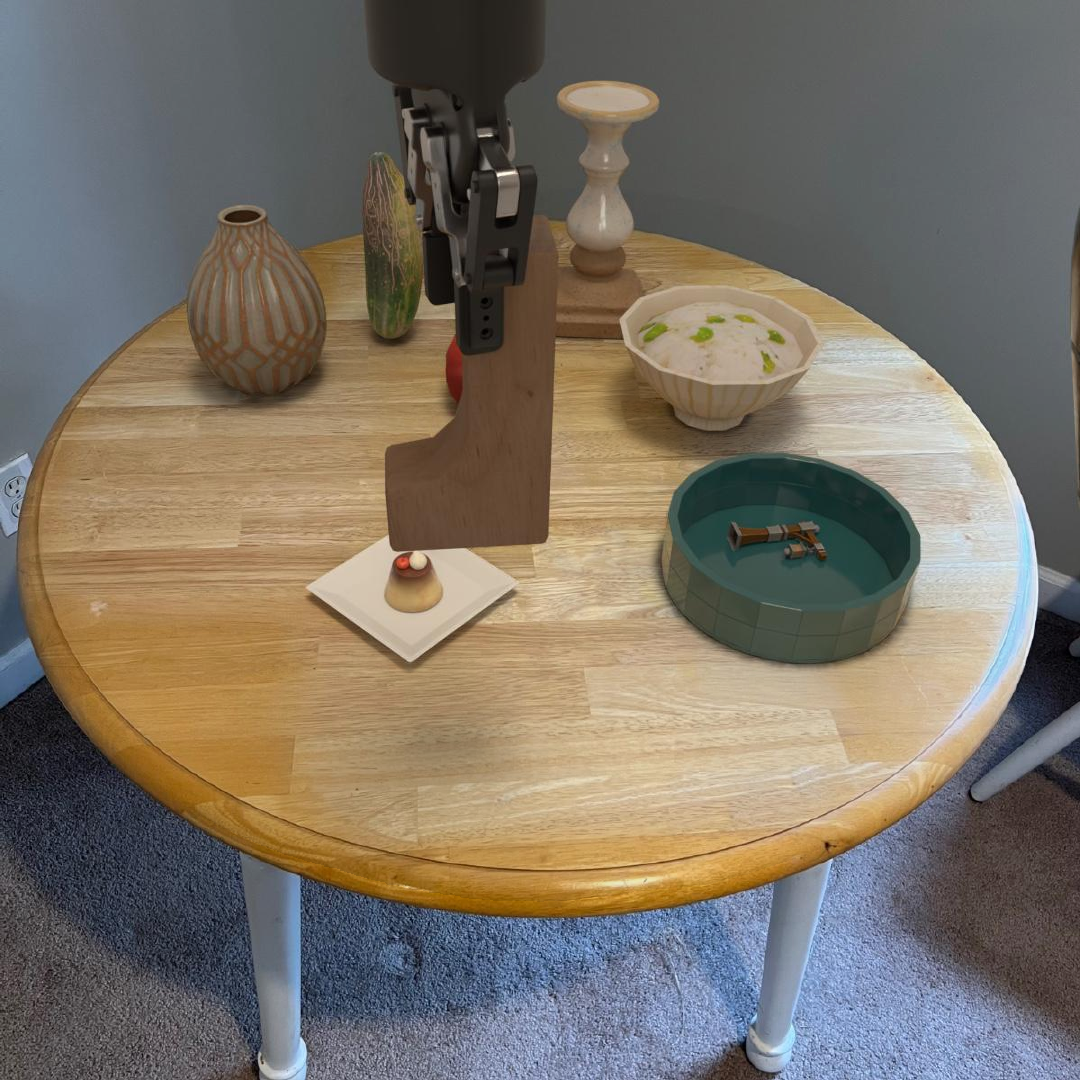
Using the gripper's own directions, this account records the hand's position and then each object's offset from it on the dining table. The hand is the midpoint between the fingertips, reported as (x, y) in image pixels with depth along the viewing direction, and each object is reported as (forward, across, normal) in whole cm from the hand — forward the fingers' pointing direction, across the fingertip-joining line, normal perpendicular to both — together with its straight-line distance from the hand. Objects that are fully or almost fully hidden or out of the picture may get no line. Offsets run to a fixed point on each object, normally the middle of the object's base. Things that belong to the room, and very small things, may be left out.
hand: (463, 323), depth 55 cm
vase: (+33, -52, -5) cm, 61 cm away
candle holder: (+33, -54, +32) cm, 71 cm away
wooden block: (+14, 0, 0) cm, 14 cm away
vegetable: (+33, -56, +10) cm, 66 cm away
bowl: (+33, -32, +35) cm, 58 cm away
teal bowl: (+33, -8, +29) cm, 45 cm away
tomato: (+33, -41, +15) cm, 55 cm away
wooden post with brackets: (+32, -10, +29) cm, 44 cm away
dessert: (+33, -16, 0) cm, 36 cm away
